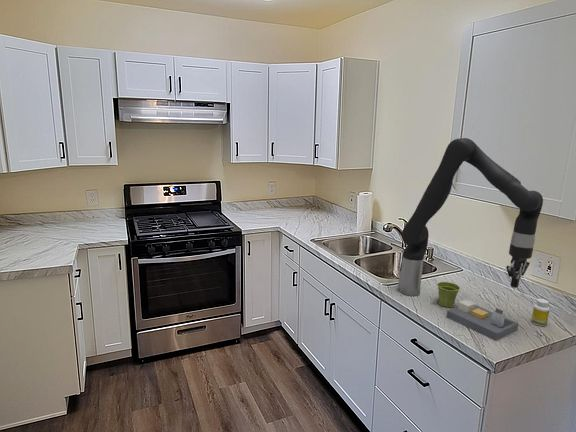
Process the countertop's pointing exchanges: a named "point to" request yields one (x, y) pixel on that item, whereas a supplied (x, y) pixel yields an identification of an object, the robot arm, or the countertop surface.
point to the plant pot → (447, 293)
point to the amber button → (479, 314)
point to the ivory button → (466, 306)
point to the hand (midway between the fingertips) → (514, 286)
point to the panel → (483, 323)
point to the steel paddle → (498, 317)
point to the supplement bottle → (540, 312)
